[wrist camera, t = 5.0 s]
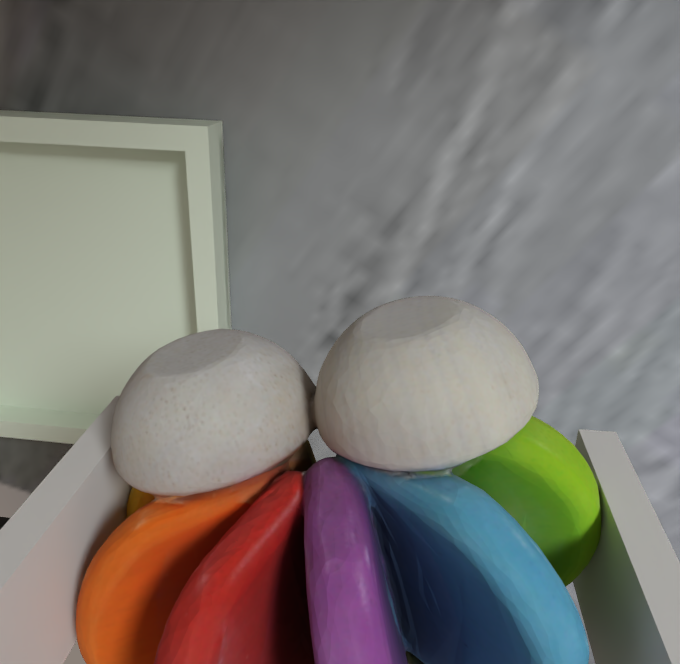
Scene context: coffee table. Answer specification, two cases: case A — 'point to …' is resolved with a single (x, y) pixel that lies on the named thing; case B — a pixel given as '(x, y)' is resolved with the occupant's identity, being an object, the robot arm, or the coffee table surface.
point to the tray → (102, 257)
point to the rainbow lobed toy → (343, 503)
